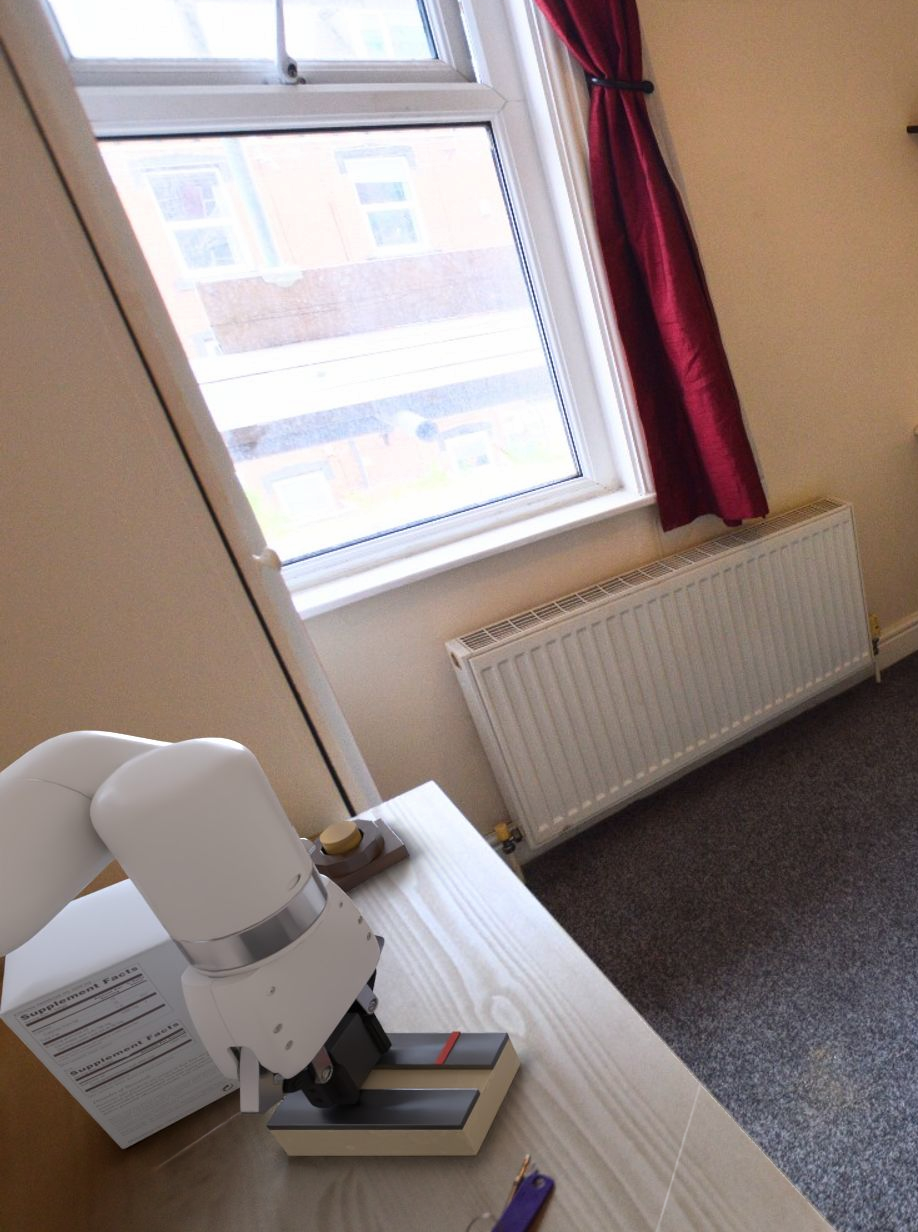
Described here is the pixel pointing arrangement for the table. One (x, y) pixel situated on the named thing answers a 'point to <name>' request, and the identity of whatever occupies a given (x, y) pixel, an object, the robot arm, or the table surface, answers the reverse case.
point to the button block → (361, 855)
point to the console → (409, 1100)
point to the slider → (353, 1048)
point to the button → (340, 837)
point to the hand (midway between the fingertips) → (353, 1073)
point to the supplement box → (112, 1014)
